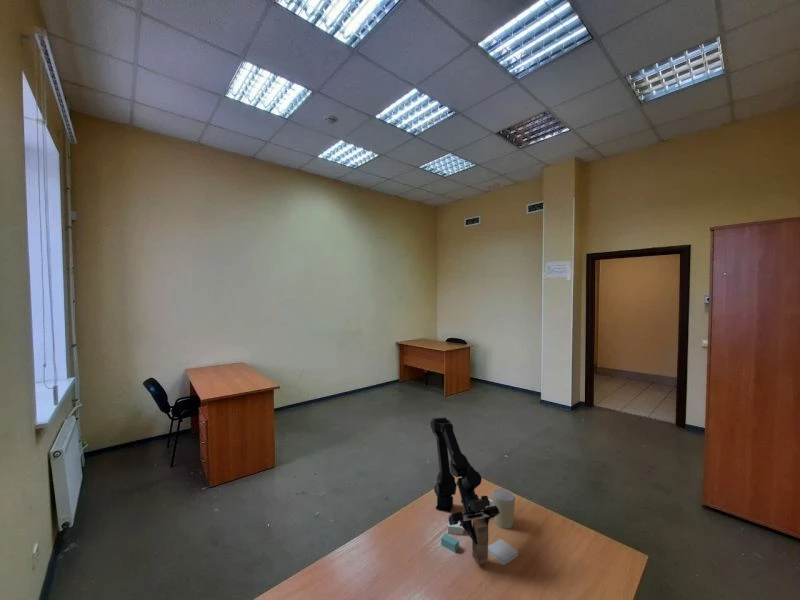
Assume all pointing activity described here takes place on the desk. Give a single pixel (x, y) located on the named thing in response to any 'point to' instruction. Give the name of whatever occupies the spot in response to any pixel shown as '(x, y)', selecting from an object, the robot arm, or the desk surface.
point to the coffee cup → (504, 507)
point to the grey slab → (502, 551)
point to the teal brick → (449, 542)
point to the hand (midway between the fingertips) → (481, 543)
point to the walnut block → (480, 541)
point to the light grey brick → (455, 529)
